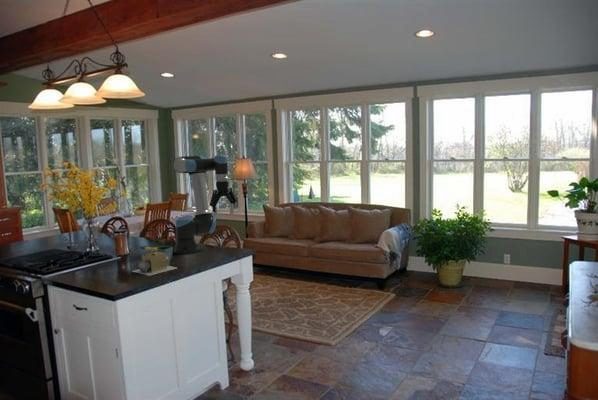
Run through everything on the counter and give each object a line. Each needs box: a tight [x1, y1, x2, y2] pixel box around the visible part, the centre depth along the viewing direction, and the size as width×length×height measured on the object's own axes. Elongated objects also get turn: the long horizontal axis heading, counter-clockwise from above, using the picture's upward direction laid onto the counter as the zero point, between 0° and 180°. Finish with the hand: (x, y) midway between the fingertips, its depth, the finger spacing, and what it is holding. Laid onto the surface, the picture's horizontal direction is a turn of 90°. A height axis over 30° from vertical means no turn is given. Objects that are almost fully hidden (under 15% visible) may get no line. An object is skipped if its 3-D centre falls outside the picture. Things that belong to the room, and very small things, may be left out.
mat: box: [131, 265, 178, 277], centre depth 273 cm, size 18×19×1 cm
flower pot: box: [156, 245, 174, 260], centre depth 292 cm, size 9×9×9 cm
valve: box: [137, 251, 171, 273], centre depth 272 cm, size 9×18×11 cm, turn 140°
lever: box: [139, 245, 158, 253], centre depth 275 cm, size 14×4×1 cm, turn 50°
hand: (224, 215), depth 290 cm, fingers open, 13 cm apart
